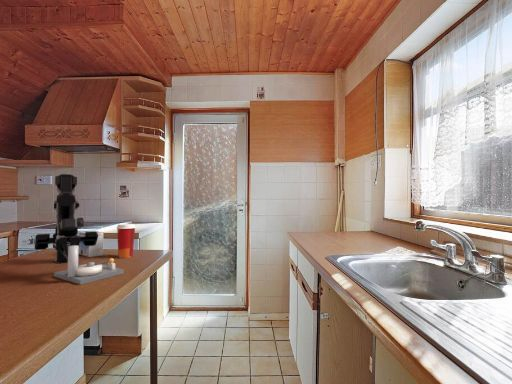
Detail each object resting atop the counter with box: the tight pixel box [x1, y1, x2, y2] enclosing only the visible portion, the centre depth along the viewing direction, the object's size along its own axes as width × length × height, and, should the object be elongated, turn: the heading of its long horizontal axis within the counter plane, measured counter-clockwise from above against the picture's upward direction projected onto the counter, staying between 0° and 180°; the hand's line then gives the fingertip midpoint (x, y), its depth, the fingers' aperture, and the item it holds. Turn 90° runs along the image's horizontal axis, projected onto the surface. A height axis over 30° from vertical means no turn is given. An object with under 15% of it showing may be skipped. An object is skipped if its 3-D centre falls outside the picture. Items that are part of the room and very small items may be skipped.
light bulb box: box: [78, 229, 104, 258], centre depth 141 cm, size 11×7×11 cm, turn 54°
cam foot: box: [67, 245, 109, 277], centre depth 105 cm, size 14×9×10 cm, turn 148°
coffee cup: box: [116, 223, 137, 259], centre depth 137 cm, size 8×8×15 cm
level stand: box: [53, 257, 125, 285], centre depth 107 cm, size 16×16×5 cm
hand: (69, 259), depth 101 cm, fingers closed
